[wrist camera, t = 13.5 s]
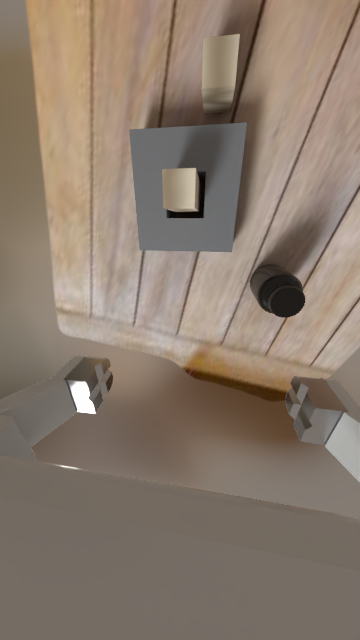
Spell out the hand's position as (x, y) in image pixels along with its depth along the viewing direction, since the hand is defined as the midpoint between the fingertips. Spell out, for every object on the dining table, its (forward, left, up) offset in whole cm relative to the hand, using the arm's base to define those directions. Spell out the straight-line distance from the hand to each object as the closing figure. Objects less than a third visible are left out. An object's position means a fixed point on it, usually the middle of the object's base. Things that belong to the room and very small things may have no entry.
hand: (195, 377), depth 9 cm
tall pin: (+4, -10, -33) cm, 35 cm away
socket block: (+4, -10, -33) cm, 35 cm away
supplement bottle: (-12, +4, -33) cm, 36 cm away
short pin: (0, -23, -33) cm, 40 cm away
